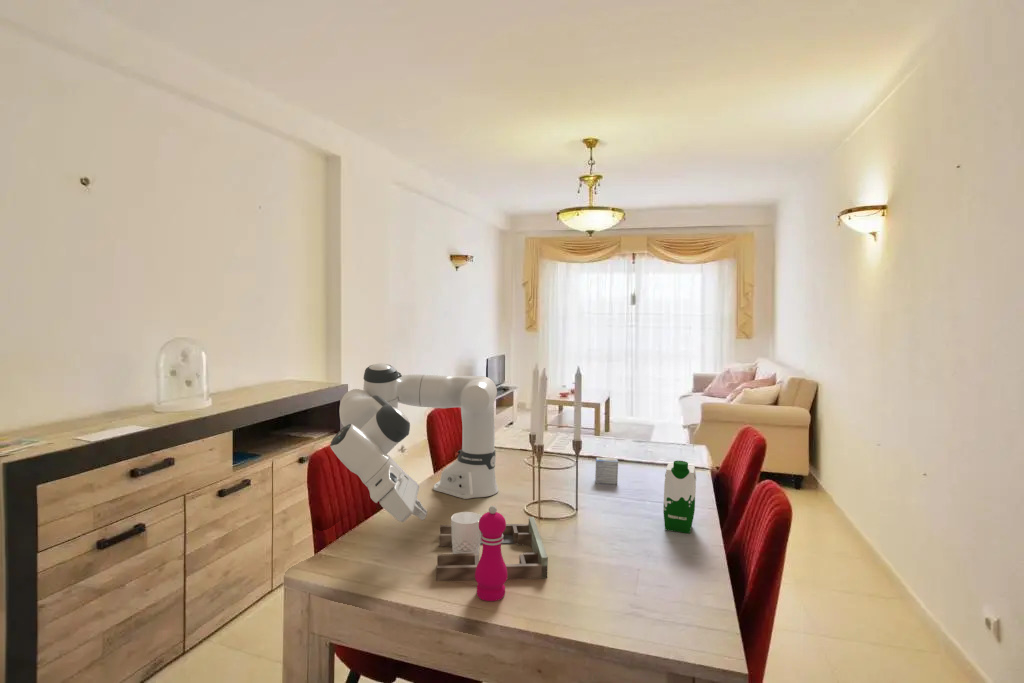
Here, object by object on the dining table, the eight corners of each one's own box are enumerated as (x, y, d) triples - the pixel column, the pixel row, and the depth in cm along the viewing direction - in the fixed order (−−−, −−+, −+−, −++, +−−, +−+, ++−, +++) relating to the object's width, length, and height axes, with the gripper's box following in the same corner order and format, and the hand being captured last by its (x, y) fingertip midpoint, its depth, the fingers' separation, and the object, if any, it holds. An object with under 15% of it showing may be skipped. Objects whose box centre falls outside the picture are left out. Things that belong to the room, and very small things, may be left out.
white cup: (444, 554, 142) (445, 516, 141) (469, 546, 147) (470, 509, 146) (462, 565, 136) (462, 526, 135) (487, 557, 141) (488, 518, 140)
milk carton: (661, 530, 160) (664, 462, 159) (664, 519, 169) (666, 455, 168) (693, 535, 158) (696, 466, 156) (694, 524, 166) (697, 458, 165)
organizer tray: (436, 580, 128) (436, 559, 128) (440, 535, 153) (440, 517, 153) (547, 578, 131) (547, 557, 131) (533, 534, 156) (533, 516, 156)
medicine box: (616, 481, 206) (617, 458, 205) (617, 484, 201) (618, 461, 201) (595, 479, 206) (595, 457, 206) (595, 483, 202) (596, 460, 201)
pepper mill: (499, 605, 118) (501, 514, 117) (468, 598, 121) (470, 508, 120) (511, 589, 125) (514, 503, 124) (482, 583, 128) (484, 498, 126)
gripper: (382, 474, 148) (419, 509, 149) (369, 501, 127) (412, 542, 129) (399, 457, 148) (436, 493, 149) (389, 482, 127) (431, 523, 129)
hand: (425, 516), depth 139 cm, fingers closed
